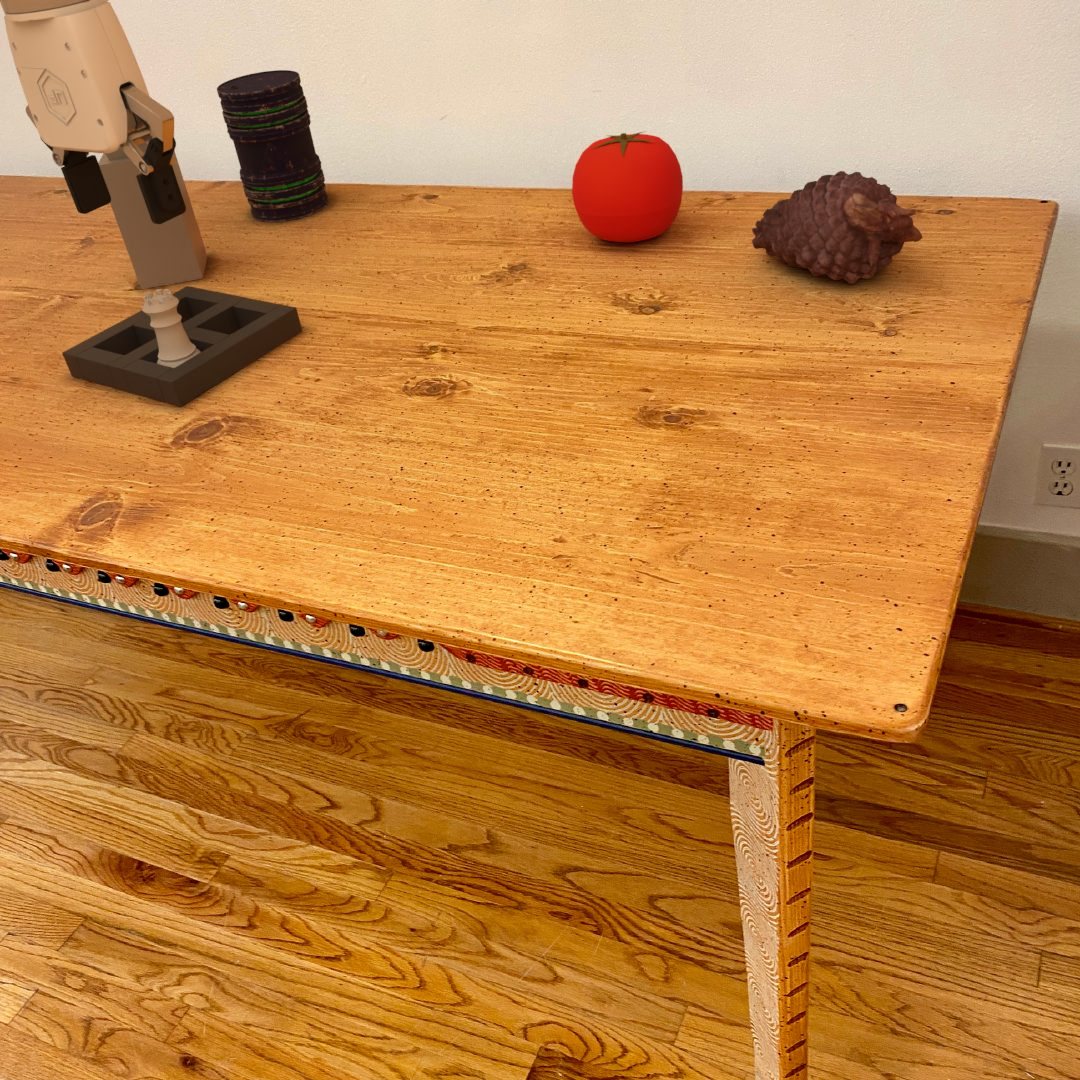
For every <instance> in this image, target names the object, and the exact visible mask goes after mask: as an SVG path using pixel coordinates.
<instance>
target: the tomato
mask: <svg viewBox="0 0 1080 1080" xmlns="http://www.w3.org/2000/svg"><path fill="white" fill-rule="evenodd" d="M645 132H646V133H647V130H644V131H641V132H635V133H630V134H628V133H626V132H621V133H620V134H618V135H610V136H607V137H604V138H601V139H598V140H596V141H593V142H591V144H589V146H588V147H587V148H585V149H584V150H583V151H582V153H581V154H580V155H579V158H578V159H577V162H576V164H575V166H574V170H573V174H572V182H571V183H572V184H571V185H572V186H571V196H572V200H573V205H574V208H575V211H576V214H577V216H578V218H579V220H580V222H581V223H582V224H583V226H584V227H585V229H586V230H587V231H588V232H589V233H590V234H591V235H593V237H596V238H597V239H601V240H603V241H608V242H615V243H634V242H641V241H646V240H650V239H652V238H656V237H658V236H661V235H662V234H663V233H665V232H666V231H667V230H668V229H669V228H670V227H672V225H673V223H674V222H675V220H676V219H677V217H678V214H679V211H680V208H681V204H682V198H683V190H684V183H683V178H684V177H683V172H682V168H681V164H680V162H679V159H678V156H677V155H676V153H675V152H674V150H673V149H672V147H671V146H670V144H669V143H668V142H666V141H665V140H663V139H662V138H661V137H659V136H657V135H652V134H645Z"/></svg>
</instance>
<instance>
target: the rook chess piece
mask: <svg viewBox="0 0 1080 1080" xmlns="http://www.w3.org/2000/svg"><path fill="white" fill-rule="evenodd" d="M163 291H164V292H163ZM155 292H156V294H155V295H154V294H153V292H152V291H148V292H147V293H145V295H143V296H142V301H143V304H142V307H141V310H142V311H143V312H144V313H146V314H147V315H149V316H150V318H151V323H150V325H151V327H153V328H154V330H155V333H156V337H157V342H158V347H159V353H158V358H159V359H158V361H157V364H160V365H164V366H168V367H172V368H175V367H177V366H179V365H180V364H182V363H184V362H185V361H187V360H189V359H191V358H192V357H194V356H196V355H197V354H199V353H201V351H200V350H198V349H196V346H195V345H194V344H192V343H191V342H190V340H189V338H188V336H187V334H186V332H185V330H184V328H183V326H182V323H181V318H182V316H181V315H180V314H178V312H177V306H178V303H179V300H178V299H177V298H176V297H175V296H173V295H172V294H173V292H172V291H171V289H169V288H165V289H164V290H163V289H162V288H158V289H155Z"/></svg>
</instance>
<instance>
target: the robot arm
mask: <svg viewBox="0 0 1080 1080" xmlns="http://www.w3.org/2000/svg"><path fill="white" fill-rule="evenodd" d="M0 5H1V8H2V11H3V13H4V16H3V17H4V18H3V19H4V24H5V25H4V26H5V31H6V35H7V39H8V43H9V48H10V52H11V55H12V59H13V63H14V66H15V70H16V73H17V75H18V79H19V82H20V85H21V88H22V90H23V95H24V97H25V99H26V103H27V105H26V107H25V112H26V115H27V117H28V118H29V119H30V121H31V123H32V124H33V125H34V128H36V130H37V132H38V135H39V137H40V140H41V142H43V144H44V145H45V146H47V148H48V149H49V150H50V151H51V152H52V153H51V155H52V156H51V157H52V160H53V161H54V163H55V165H57V166H58V167H60V170H61V172H62V175H63V178H64V180H65V183H66V185H67V187H68V190H69V193H70V196H71V199H72V201H73V203H74V206H75V208H76V211H77V212H78V213H79V214H84V215H87V214H89V213H91V212H93V211H96V210H98V209H101V208H102V207H105V206H107V205H109V204H110V202H111V196H110V193H109V191H108V188H107V185H106V183H105V180H104V177H103V175H102V172H101V169H100V166H99V164H98V163H99V161H98V159H97V156H96V155H95V154H103V153H112V152H115V151H117V150H118V149H119V147H120V148H121V149H122V150H123V152H124V153H125V154H126V155H127V156H128V158H129V159H130V160H131V161H132V162H133V163H134V165H135V166H136V167H137V168H138V169H139V171H140V172H141V174H139V175H137V176H136V177H137V181H138V184H139V186H140V189H141V192H142V195H143V198H144V201H145V203H146V206H147V209H148V212H149V215H150V218H151V220H152V222H153V223H154V224H162V223H164V222H166V221H168V220H170V219H173V218H175V217H177V216H179V215H181V214H183V213H184V212H185V211H186V206H185V203H184V200H183V197H182V194H181V191H180V188H179V185H178V182H177V179H176V176H175V173H174V170H173V167H172V164H174V163H175V157H174V155H173V153H174V151H175V149H176V147H177V142H176V139H175V116H174V114H173V113H172V111H170V109H168V108H167V107H165V106H163V105H162V104H161V103H159V101H156V100H155V99H153V98H152V97H151V96H150V93H149V90H148V87H147V85H146V82H145V81H146V80H145V79H144V76H143V74H142V71H141V69H140V66H139V63H138V62H137V59H136V56H135V54H134V51H133V49H132V46H131V44H130V42H129V40H128V37H127V34H126V33H125V30H124V28H123V26H122V24H121V22H120V19H119V18H118V15H117V14H116V11H115V10H114V8H113V6H112V3H111V2H110V1H109V0H0ZM145 142H146V144H147V145H148V146H147V149H146V152H145V154H144V153H143V152H142V151H141V150H140V148H139V147H138V145H140V144H142V143H145ZM90 153H94V154H91V155H89V154H90Z"/></svg>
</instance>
